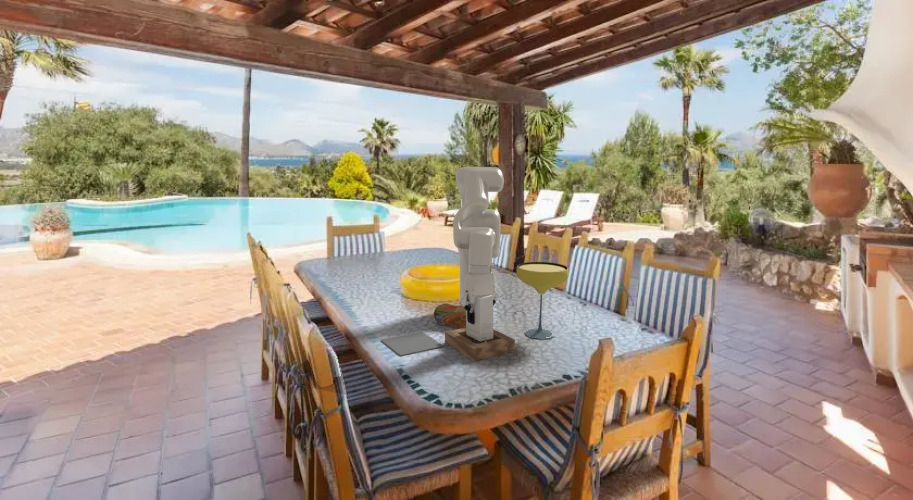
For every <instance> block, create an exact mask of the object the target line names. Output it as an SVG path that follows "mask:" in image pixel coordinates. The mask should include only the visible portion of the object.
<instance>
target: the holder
mask: <svg viewBox="0 0 913 500" xmlns="http://www.w3.org/2000/svg"><path fill="white" fill-rule="evenodd" d="M473 341H477V340H476V339H474V338H472V337H470V336H468V335H466V327H465V328H458V329H452V330H447V331H444V344H446V345H447V346H449V347H450V348H452V349H454V350H455V351H457V352H459V353H460V354H462V355H463V356H465V357H467V358H468V359H470V360H471V361H473V362H475V361H480V360H485V359H488V358H493V357H496V356H501V355H504V353H505V354H508V352H509V353H512V352H511V351H513V352H515V344H516V340H515V338H512V337H510V336H508V335H507V334H504V333H503V332H501V331H499V330H496V329H494V328H493V339H489V340H484V342H480V343H477V342H476V343H475V342H473ZM500 354H501V355H500Z"/></svg>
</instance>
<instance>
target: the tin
mask: <svg viewBox="0 0 913 500" xmlns="http://www.w3.org/2000/svg"><path fill="white" fill-rule="evenodd" d="M433 317H434V320H435V322H436V323H437V324H439V325H440V326H443V327H451V328H458V329H461V328H466V310H465V309H464V308H463V306H461V305H458V304H453V303H442V304H438V306H436V307H435V309H434V311H433Z"/></svg>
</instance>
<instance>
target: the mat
mask: <svg viewBox="0 0 913 500" xmlns="http://www.w3.org/2000/svg"><path fill="white" fill-rule="evenodd" d="M380 342H382V343H383V344H384V345H385V346H387V347H388V348H389V349H391V350H392V351H393V352H395V354H397V355H398V356H400V357H403V356H408V355H413V354H417V353H422V352H423V353H424V352H426V351H432V350H436V349H441V348H444V347H445V345H444V344H443V343H441V342H439V341H438V340H436V339H434V338H433V337H432V336H430V335H428V334H426V332H423V331H417V332H413V333H408V334H404V335H403V334H402V335H398V336H392V337H388V338H383V339H380Z"/></svg>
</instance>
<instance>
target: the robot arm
mask: <svg viewBox="0 0 913 500" xmlns="http://www.w3.org/2000/svg"><path fill="white" fill-rule="evenodd" d="M455 182H456V185H457V189H458V191H459V194H460V197H461V207H460V208H459V209H458V210H457V212H456V214H455V216H454V217H453V218H454V219H453V223H452V225H453V226H452V235H453V238H452V239H453V240H452V241H453V245H454V246H455V247H456V248H457V251H458V261H459V300H458V304H457V305H461V306H463V308H464V309H465V310H466V311H467V321H468V322H469V323H471V324H474V317H475V313H474V312H473V310H474V307H475V304H476V301H477V297H482V296H487V295H492V296H493V306H495V304H496V303H497V301H498V299H500V295H499V294H498V293H497V292H496V287H495V286H496V285H495V283H496V282H495V277H494V272H493V271H492V270H493V268H495V264H494V263H493V259H497V258H498V257H499V256H500V253H501V230H502V229H501V227H502V226H501V221H502V219H501V215H500V212H499V211H498V210H496V209H493V208H491V209H490V208H489V204H490V200H489V193H500V192H501V191H502V190H503V189H504V183H505V179H504V175H503V172H502V170H501V169H500V168H499V167H494V166H465V167H460V168H458V169H457V170H456V172H455ZM488 208H489V209H488ZM466 301H468V303H467V304H466ZM470 306H471V307H470Z"/></svg>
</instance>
